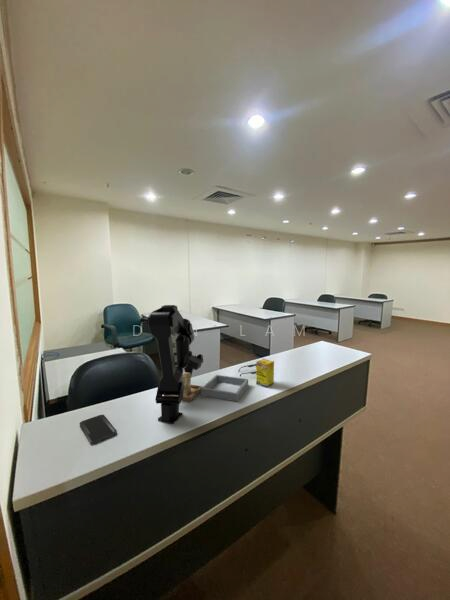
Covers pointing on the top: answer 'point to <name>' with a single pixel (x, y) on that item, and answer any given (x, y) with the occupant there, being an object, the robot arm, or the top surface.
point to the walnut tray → (190, 393)
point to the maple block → (186, 382)
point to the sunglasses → (248, 366)
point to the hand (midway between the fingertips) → (183, 385)
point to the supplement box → (265, 372)
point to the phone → (97, 429)
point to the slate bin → (224, 394)
